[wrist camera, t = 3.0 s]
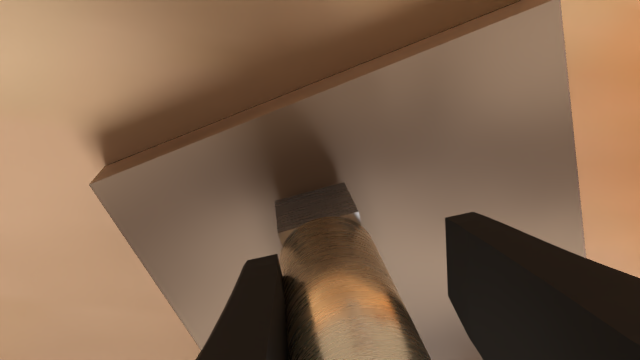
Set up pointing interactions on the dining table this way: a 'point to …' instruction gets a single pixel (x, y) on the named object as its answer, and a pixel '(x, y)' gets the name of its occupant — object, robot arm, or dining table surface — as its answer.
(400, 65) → the base
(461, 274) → the robot arm
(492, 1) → the dining table surface
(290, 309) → the lever
